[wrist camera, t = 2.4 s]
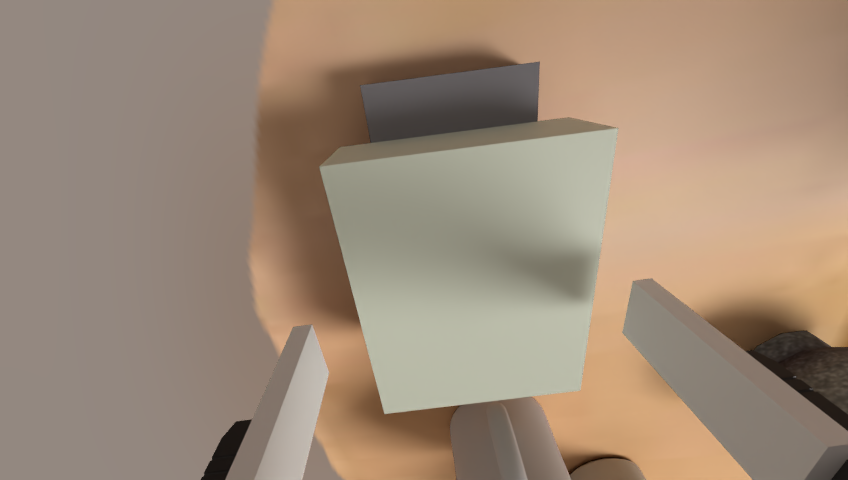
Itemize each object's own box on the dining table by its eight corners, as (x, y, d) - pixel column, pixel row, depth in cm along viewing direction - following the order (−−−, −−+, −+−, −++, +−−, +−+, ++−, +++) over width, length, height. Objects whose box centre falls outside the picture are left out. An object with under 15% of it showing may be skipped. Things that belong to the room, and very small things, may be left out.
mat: (521, 64, 16) (539, 61, 14) (517, 342, 25) (528, 368, 23) (366, 85, 16) (360, 85, 14) (414, 354, 25) (415, 382, 23)
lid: (568, 117, 15) (618, 128, 12) (551, 339, 21) (580, 390, 18) (339, 147, 15) (319, 166, 12) (388, 359, 22) (384, 413, 18)
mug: (546, 439, 31) (612, 610, 21) (459, 456, 31) (483, 630, 21) (535, 349, 25) (616, 519, 15) (430, 372, 26) (444, 550, 16)
